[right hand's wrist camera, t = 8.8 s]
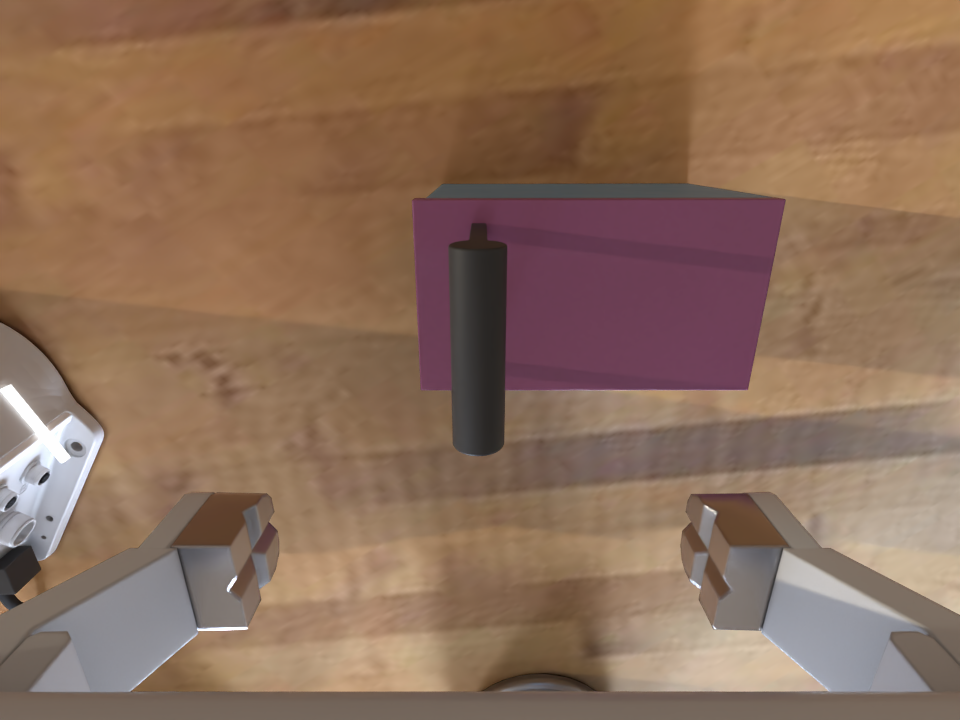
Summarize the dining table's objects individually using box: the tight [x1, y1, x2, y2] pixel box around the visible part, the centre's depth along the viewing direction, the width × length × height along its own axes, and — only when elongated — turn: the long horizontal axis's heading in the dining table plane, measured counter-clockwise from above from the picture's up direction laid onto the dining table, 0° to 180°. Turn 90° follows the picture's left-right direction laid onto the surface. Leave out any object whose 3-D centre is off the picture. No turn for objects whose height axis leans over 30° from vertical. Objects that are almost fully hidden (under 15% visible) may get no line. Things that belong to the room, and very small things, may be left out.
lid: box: [412, 198, 785, 456], centre depth 23 cm, size 17×10×9 cm, turn 90°
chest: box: [427, 184, 772, 198], centre depth 32 cm, size 16×10×11 cm, turn 90°
